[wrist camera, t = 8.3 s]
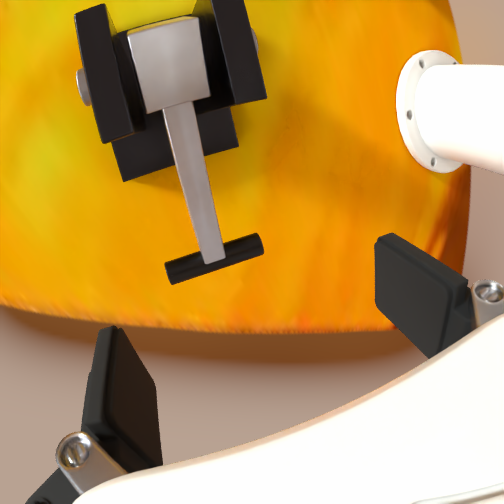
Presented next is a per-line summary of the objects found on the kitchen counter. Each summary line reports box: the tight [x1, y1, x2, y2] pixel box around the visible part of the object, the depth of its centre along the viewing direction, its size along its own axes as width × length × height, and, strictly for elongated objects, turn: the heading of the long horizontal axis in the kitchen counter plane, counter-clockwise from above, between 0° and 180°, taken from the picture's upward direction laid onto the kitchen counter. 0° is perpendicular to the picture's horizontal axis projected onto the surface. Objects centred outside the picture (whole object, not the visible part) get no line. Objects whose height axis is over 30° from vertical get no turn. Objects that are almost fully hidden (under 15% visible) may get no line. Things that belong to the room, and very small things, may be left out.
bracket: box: [74, 0, 267, 182], centre depth 13 cm, size 10×8×13 cm
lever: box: [126, 16, 264, 285], centre depth 12 cm, size 12×5×2 cm, turn 13°
